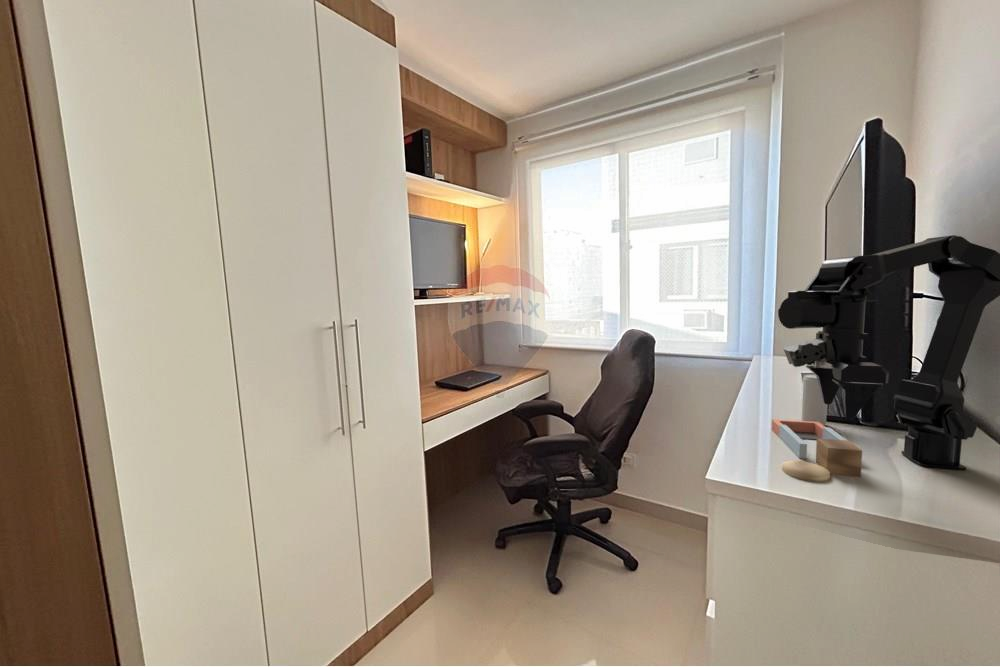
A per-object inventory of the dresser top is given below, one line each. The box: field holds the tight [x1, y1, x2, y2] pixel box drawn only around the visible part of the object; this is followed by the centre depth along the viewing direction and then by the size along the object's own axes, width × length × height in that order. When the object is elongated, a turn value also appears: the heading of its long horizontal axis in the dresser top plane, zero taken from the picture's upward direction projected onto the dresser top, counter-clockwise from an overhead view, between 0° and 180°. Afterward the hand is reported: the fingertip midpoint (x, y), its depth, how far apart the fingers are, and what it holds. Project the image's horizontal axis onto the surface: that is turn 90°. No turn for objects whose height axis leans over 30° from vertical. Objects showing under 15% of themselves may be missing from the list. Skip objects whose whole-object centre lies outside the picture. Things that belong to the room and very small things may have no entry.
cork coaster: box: [781, 460, 831, 483], centre depth 74 cm, size 7×7×1 cm
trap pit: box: [771, 418, 826, 441], centre depth 92 cm, size 9×6×2 cm, turn 71°
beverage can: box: [800, 374, 828, 426], centre depth 99 cm, size 5×5×12 cm
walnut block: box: [815, 438, 863, 478], centre depth 75 cm, size 5×5×5 cm
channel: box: [778, 425, 847, 460], centre depth 84 cm, size 9×12×3 cm
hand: (837, 410), depth 74 cm, fingers open, 9 cm apart
